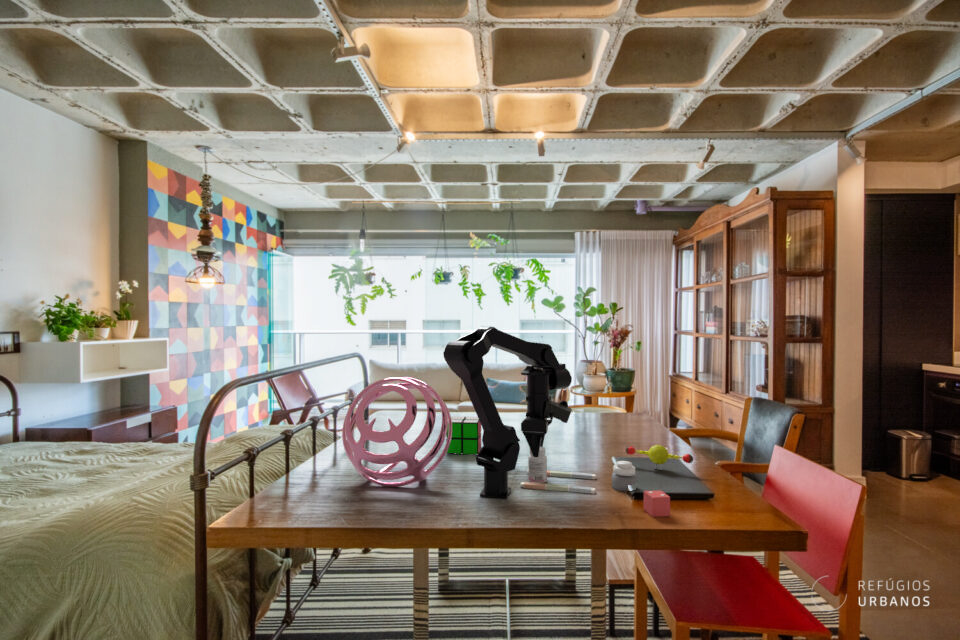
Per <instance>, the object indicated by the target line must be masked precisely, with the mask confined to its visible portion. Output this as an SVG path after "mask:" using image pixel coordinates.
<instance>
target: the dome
mask: <svg viewBox="0 0 960 640" xmlns="http://www.w3.org/2000/svg"><path fill="white" fill-rule="evenodd" d="M612 471H613V472H612V473H615V474H618V475H623V476H632V475H636V467H635V466H634V465H633V463H632V462H631V461H627V460H618V461H616V464H614V465H613V469H612Z"/></svg>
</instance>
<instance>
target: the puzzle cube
mask: <svg viewBox="0 0 960 640" xmlns="http://www.w3.org/2000/svg"><path fill="white" fill-rule="evenodd" d="M451 420H452V438H451V443H450V446H449V449H448V451H447V453H456V454H455V455H464V454H478V453H479V452H480V450H481V449H482V425H481V423H480V421H479V418H478V416H459V415H457V416H456V415H455V416H451ZM448 433H449V423H448V428H447V433H446V437H445V440H446V442H447V439H448ZM446 442H445V443H446ZM447 453H446V454H447ZM461 453H463V454H461Z"/></svg>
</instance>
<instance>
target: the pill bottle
mask: <svg viewBox="0 0 960 640" xmlns="http://www.w3.org/2000/svg"><path fill="white" fill-rule="evenodd" d="M547 462H548V459H547V455H546V448H545V446H543V447H540V450H539V455H538V457H534V456H533V454H532V452H531V449H530V448H529V455H528V466H527V467H528V469H527V470H528V474H527V475H528V482H533V483H546V482H547V481H548V480H547V479H548V476H547V470H548V466H547V465H548V464H547Z"/></svg>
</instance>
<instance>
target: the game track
mask: <svg viewBox="0 0 960 640" xmlns="http://www.w3.org/2000/svg"><path fill="white" fill-rule="evenodd" d="M526 470H527V471H526V474H527V475H528V469H526ZM596 476H597V475H596V474H594V473H591V472H589V473H588V472H577V471H575V472H574V471H573V472H571V471H563V470H560V471H559V470H548V469H547V477H559V478H561V477H562V478H571V479H572V478H573V479H585V480H596ZM636 483H637V484H638V475H636V474H635V475H632V476H623V475H618V474H615V473H614V472H612V473H611V489H614V490H616V491H620V492H625V493H629V492H628V485H632V484H636ZM519 487H520V488H522V487H523V489H534V490H535V489H536V490H547V491H558V492H569V493H583V494H593V495H595V494H596V488H595V487H591V486H580V485H567V484H554V483H546V482H544V483H533V482H530V481H524V482H523V481H521V482H520V486H519Z"/></svg>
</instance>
